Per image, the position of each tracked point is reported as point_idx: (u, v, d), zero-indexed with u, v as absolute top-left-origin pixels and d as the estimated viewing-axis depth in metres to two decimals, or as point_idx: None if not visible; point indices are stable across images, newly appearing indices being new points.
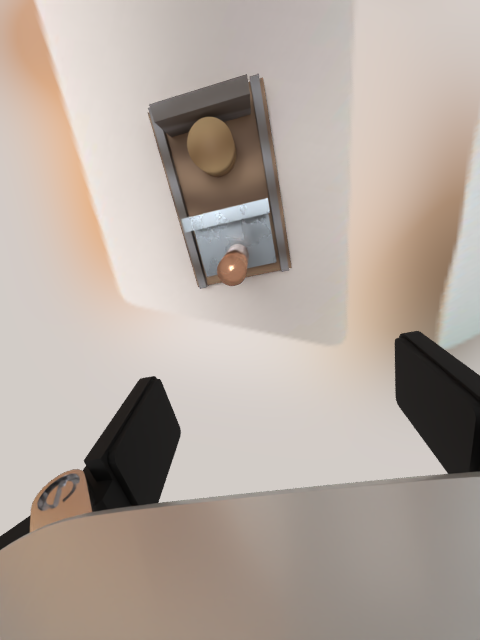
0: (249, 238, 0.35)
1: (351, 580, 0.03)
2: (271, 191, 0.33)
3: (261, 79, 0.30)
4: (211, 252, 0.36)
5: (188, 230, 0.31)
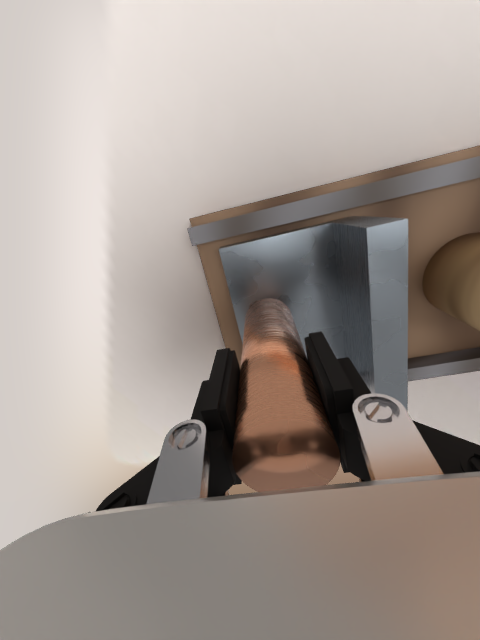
0: (301, 342, 0.17)
1: (351, 580, 0.03)
2: None
3: None
4: (277, 263, 0.16)
5: (371, 239, 0.10)
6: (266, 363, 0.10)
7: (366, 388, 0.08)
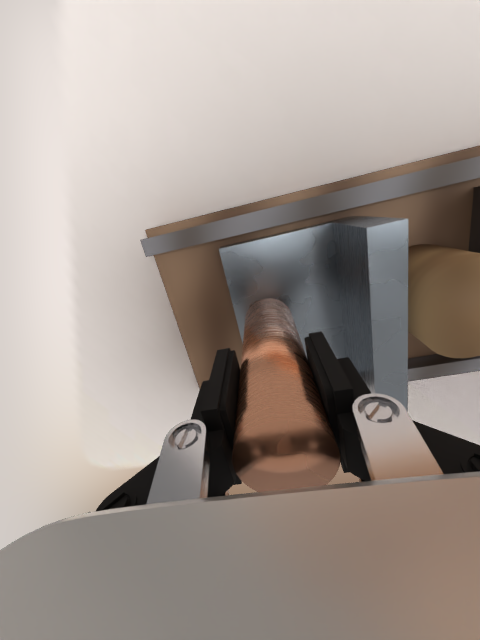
0: (301, 342, 0.17)
1: (351, 580, 0.03)
2: None
3: None
4: (277, 263, 0.16)
5: (371, 239, 0.10)
6: (266, 363, 0.10)
7: (366, 388, 0.08)
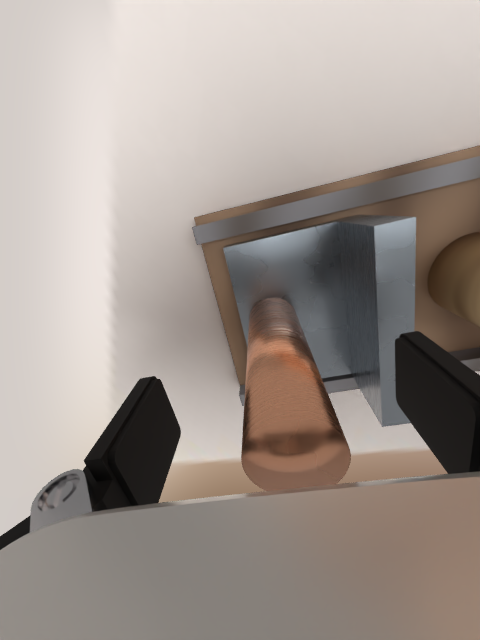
0: None
1: (351, 580, 0.03)
2: None
3: None
4: (281, 262, 0.15)
5: (378, 237, 0.10)
6: (274, 362, 0.09)
7: None
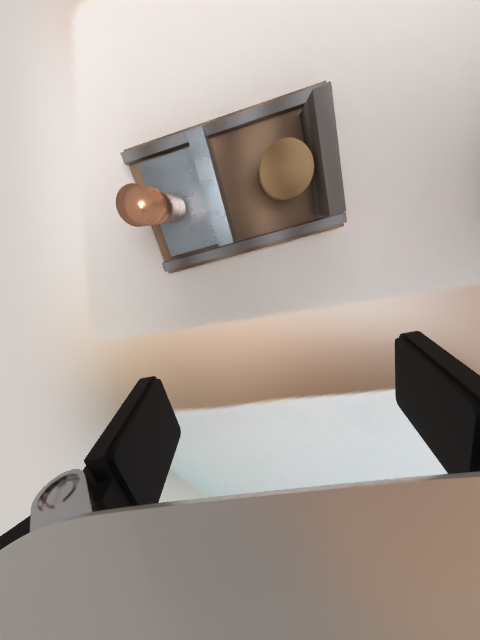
0: (193, 221, 0.30)
1: (351, 580, 0.03)
2: (244, 243, 0.31)
3: (342, 224, 0.31)
4: (171, 171, 0.28)
5: (188, 137, 0.23)
6: None
7: None
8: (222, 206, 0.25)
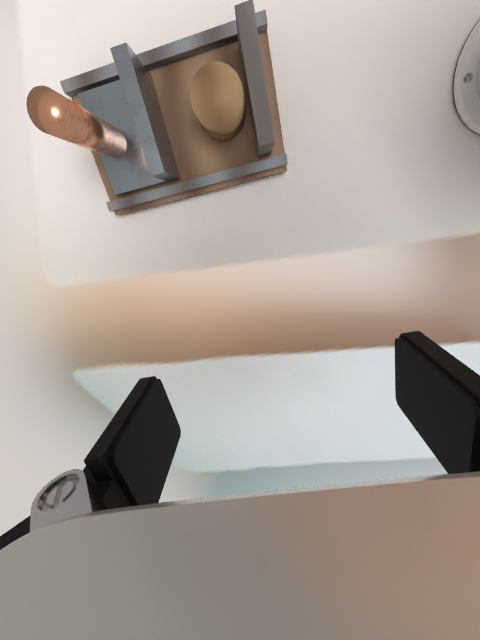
0: (135, 158, 0.30)
1: (351, 580, 0.03)
2: (186, 184, 0.31)
3: (285, 168, 0.31)
4: (110, 102, 0.28)
5: (113, 54, 0.23)
6: None
7: None
8: (151, 131, 0.25)
